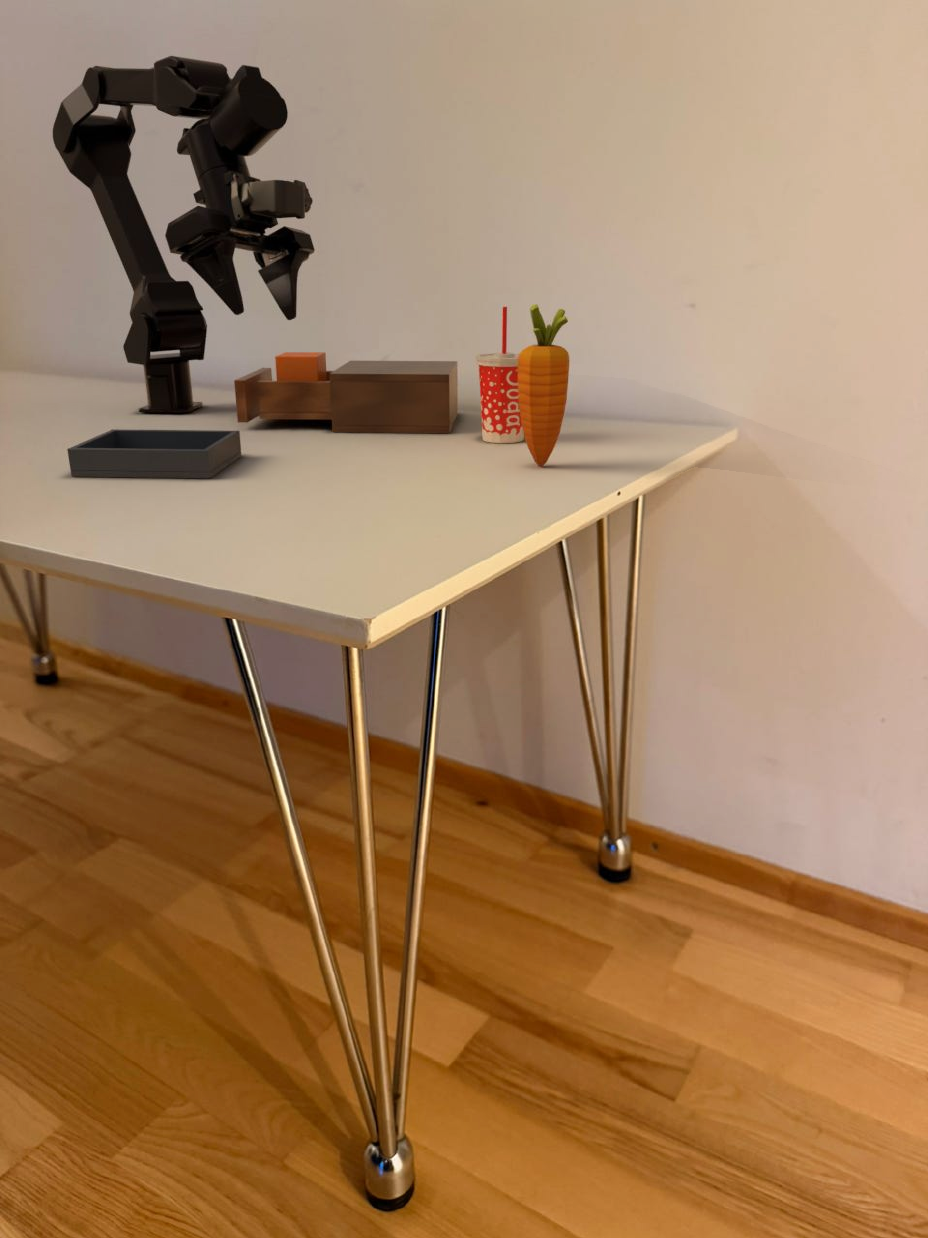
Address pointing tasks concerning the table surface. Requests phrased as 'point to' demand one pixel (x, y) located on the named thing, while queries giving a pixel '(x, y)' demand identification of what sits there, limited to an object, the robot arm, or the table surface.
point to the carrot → (543, 386)
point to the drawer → (281, 398)
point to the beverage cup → (500, 394)
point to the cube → (301, 366)
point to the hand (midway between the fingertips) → (267, 316)
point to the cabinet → (394, 396)
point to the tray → (155, 454)
